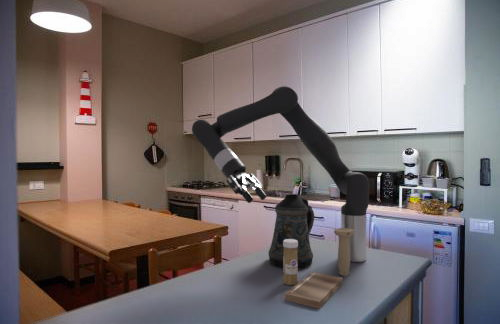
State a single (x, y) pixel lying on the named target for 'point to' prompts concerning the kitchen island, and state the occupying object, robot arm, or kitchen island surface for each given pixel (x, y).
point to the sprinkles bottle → (290, 261)
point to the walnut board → (314, 289)
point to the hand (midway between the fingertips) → (258, 199)
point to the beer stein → (292, 230)
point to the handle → (344, 250)
